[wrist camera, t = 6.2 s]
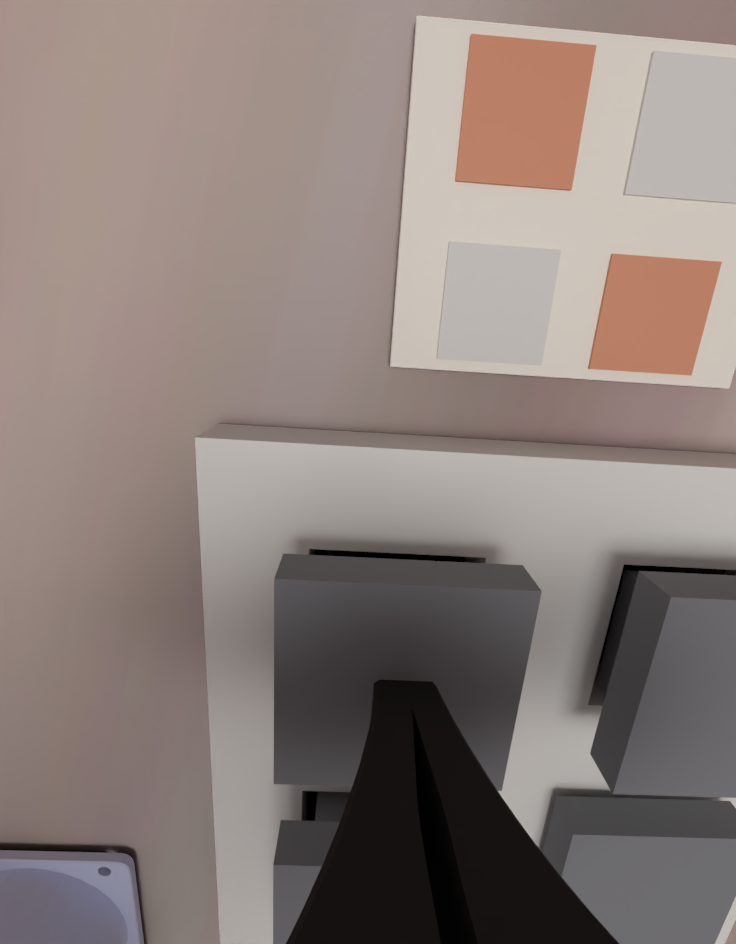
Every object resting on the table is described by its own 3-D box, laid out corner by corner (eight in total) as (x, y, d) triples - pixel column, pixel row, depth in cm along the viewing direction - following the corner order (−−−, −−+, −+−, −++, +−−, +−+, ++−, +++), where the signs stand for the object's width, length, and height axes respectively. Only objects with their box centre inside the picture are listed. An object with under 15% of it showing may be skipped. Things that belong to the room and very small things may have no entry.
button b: (509, 858, 18) (539, 959, 15) (534, 745, 16) (572, 834, 13) (650, 861, 18) (706, 961, 15) (689, 750, 17) (760, 839, 14)
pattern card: (389, 365, 13) (390, 366, 12) (415, 24, 10) (417, 12, 10) (720, 387, 13) (732, 388, 13) (815, 62, 11) (832, 50, 10)
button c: (291, 692, 14) (273, 783, 11) (294, 522, 13) (274, 578, 10) (472, 699, 15) (501, 790, 12) (499, 533, 13) (541, 591, 10)
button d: (561, 702, 15) (612, 793, 12) (599, 538, 13) (671, 597, 10) (734, 708, 15) (828, 800, 12) (794, 548, 13) (922, 609, 10)
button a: (288, 882, 17) (272, 997, 14) (290, 762, 15) (273, 865, 12) (442, 885, 17) (459, 999, 14) (461, 767, 15) (485, 870, 12)
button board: (234, 882, 19) (220, 943, 17) (218, 423, 13) (194, 437, 11) (685, 891, 20) (720, 951, 18) (855, 460, 14) (934, 480, 12)
